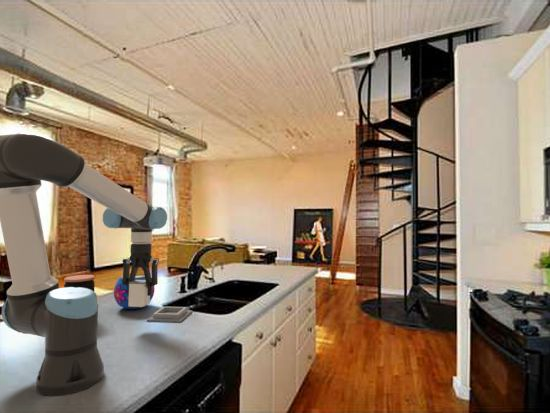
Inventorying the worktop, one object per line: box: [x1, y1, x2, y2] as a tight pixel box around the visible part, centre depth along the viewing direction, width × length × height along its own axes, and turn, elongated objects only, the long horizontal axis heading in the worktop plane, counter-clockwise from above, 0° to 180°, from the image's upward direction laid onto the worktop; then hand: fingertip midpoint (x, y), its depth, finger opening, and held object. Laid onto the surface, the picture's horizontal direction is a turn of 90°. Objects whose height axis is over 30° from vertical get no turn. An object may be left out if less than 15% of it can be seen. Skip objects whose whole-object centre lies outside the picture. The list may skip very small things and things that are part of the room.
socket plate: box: [146, 306, 193, 324], centre depth 140 cm, size 14×14×3 cm
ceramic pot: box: [113, 272, 155, 310], centre depth 153 cm, size 18×18×15 cm
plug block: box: [128, 280, 147, 308], centre depth 126 cm, size 6×6×9 cm
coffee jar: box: [63, 274, 95, 292], centre depth 133 cm, size 11×11×18 cm
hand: (139, 303), depth 126 cm, fingers closed on plug block, 5 cm apart
